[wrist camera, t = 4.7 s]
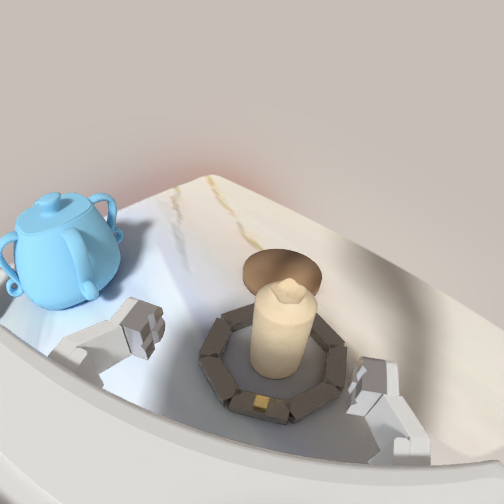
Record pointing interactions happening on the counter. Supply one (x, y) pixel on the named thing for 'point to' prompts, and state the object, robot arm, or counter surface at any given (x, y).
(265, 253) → the coaster
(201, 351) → the collar
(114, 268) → the decorative pot
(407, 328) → the counter surface
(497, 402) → the counter surface
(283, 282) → the candle
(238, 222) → the counter surface
